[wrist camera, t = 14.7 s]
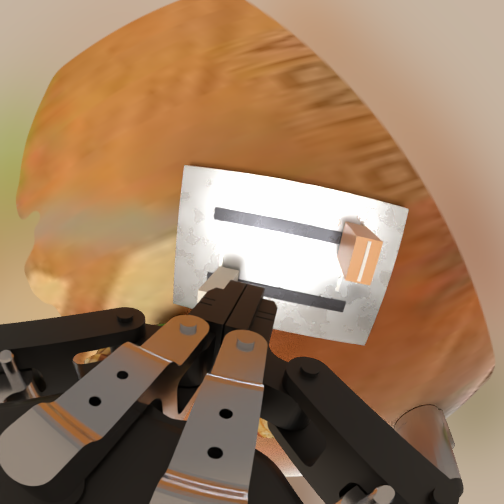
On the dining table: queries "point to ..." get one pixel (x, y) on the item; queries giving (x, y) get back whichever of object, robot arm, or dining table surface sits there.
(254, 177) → the fader panel
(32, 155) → the dining table surface
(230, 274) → the cream fader
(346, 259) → the orange fader
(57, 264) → the dining table surface
